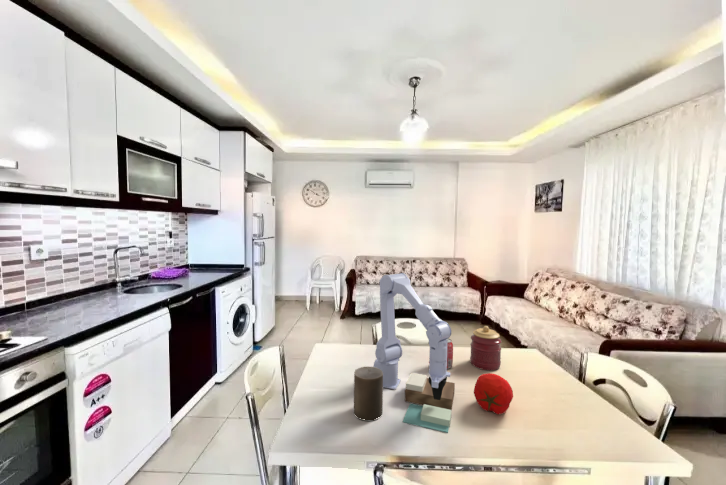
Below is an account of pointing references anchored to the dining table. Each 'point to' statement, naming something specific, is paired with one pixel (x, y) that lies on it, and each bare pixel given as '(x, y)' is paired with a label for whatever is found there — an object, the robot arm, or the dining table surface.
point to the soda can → (449, 353)
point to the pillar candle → (368, 393)
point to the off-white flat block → (416, 382)
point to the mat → (415, 419)
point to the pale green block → (436, 415)
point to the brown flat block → (428, 398)
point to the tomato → (493, 393)
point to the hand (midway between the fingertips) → (437, 398)
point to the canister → (485, 349)
